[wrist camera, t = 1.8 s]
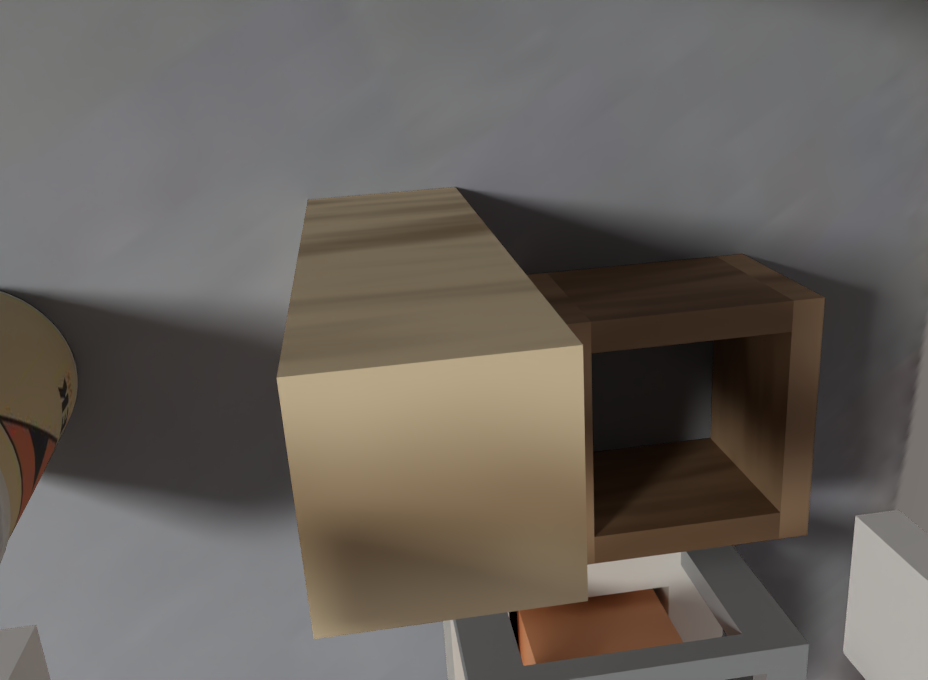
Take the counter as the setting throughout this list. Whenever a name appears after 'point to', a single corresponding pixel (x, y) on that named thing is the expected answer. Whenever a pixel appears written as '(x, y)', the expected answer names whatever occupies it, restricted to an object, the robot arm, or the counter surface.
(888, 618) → the robot arm
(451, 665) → the grey frame
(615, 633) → the orange cube
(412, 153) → the counter surface
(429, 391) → the tan wooden block
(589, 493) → the holder
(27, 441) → the coffee cup
